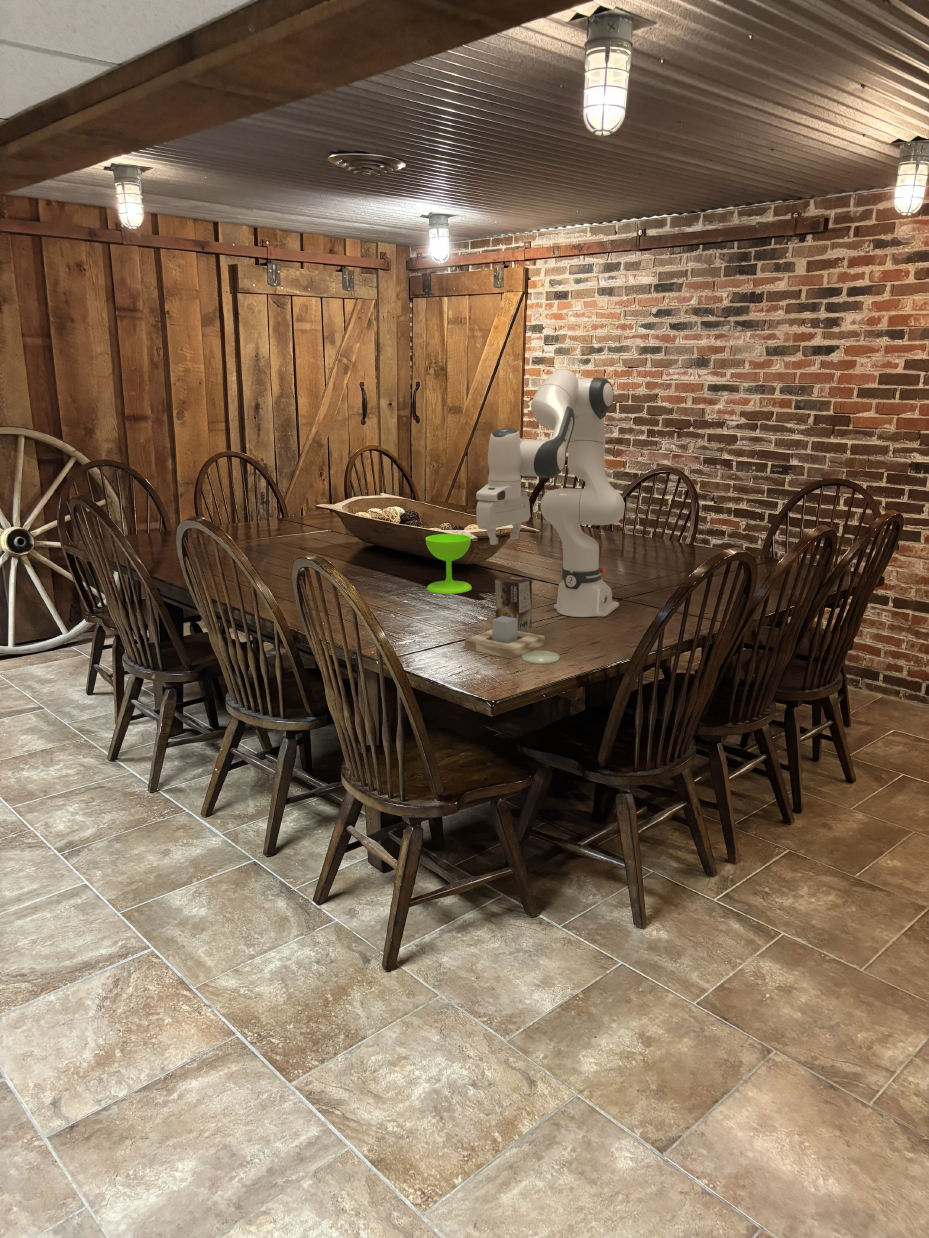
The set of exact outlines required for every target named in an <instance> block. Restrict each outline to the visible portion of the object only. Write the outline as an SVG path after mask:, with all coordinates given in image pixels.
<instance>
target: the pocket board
mask: <svg viewBox="0 0 929 1238" xmlns="http://www.w3.org/2000/svg"><path fill="white" fill-rule="evenodd" d="M544 645H545V635H542V634H541V635H540V634H536V633H526V632H521V631H517V640H516V641H514V642H512V643H509V644H506V643H501V642H497V641H492V629H489V630H487V631H484V632H481V633H479V634H476V635H473V636H471V637H469V638H467V639H464V649H466V650H470V651H474V652H479V653H482V654H487V655H492V656H495V657H496V656H497V657H501V658H505V659H506V658H507V659H511V660H512V659H515V658H517V657H520V656H522V655H523V654H524V653H526V652H530V651H534V650H535V649H537V648H539V647H542V646H544Z"/></svg>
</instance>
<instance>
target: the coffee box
mask: <svg viewBox="0 0 929 1238" xmlns="http://www.w3.org/2000/svg"><path fill="white" fill-rule="evenodd" d="M494 583H495V584H494V585H495V588H494V589H495V591H494V592H495V619H496V618H498V617H501V616H506V617H511V618H516V619H517V631H521V632H526V633H531V634H533V633H532V632H533V630H532V627H533V626H532V624H533V623H532V621H533V620H532V618H533V616H532V615H533V614H532V611H533V610H532V609H533V607H532V605H533V604H532V603H533V602H532V601H533V597H532V595H533V590H532V589H533V581H532V578H525V577H520V576H519V577H518V576H511V575H507V576H502V577H500V578H497V579H494Z"/></svg>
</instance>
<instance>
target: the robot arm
mask: <svg viewBox="0 0 929 1238" xmlns="http://www.w3.org/2000/svg"><path fill="white" fill-rule="evenodd" d="M614 392H615V391H614V388H613V385H612V384H611V382H610V381H609V380H608V379H607V378H604V377H599V376H595V377H593V378H591V377H588V378H587V377H585V378H584V377H583V378H582V377H581V378H577V375H575V373H573V372H572V371H571V370H568V369H563V368H559V369H557V370H554V371H553V372H552V373H550V375H548V377H546V379H545V380H544V381H543V382H542V383H541V384H540V386H539V388H538V389H537V390H536V392H535V393H534V395H533V398H532V400H531V404H530V410H531V414H532V416H533V419H535V421H536V422H537V423H538V424H539V426H542V427H543V428H545V429H550V430H553V433H552V436H551V438H548V439H543V440H540V439H539V440H536V439H535V440H533V439H532V440H530V439H523V438H521V435H520V431H519V430H518V429H515V428H510V427H507V428H505V427H504V428H499V429H495V430H493V431H492V432H491V433H490V436H489V440H488V441H489V442H488V451H487V465H488V469H489V470H488V471H489V473H488V478H487V484H485V485H484V486H483V487H482V488H481V489H479V490H478V491H477V492H476V494H475V497H476V500H478V502H477V504H476V509H475V510H476V519H475V520H476V521H475V522H476V526H477V528H478V529H479V530H485V531H486V533H487V536H488V538H489V545H490V546H491V545H493V546H495V545H498V544H499V537H497V535H496V532H497V528H502V527H507V526H512V531H511V532H510V533H509V534H510V535H509V536H510V537H509V538H510V540H513V541H517V540H518V539H519V533H520V530H521V529H522V523H524V522H528V521H529V520H530V518H531V507H530V506H531V504H530V500H529V499H530V498H529V496H528V492H527V490H526V489H525V488H524V487H522V477H521V476H524V477H539V478H544V479H555V478H556V477H558V476H559V475H560V474H561V473H562V472H563V470H564V468H565V465H567V469H568V471H569V473H570V474H572V475H573V476H575V477H576V478H578V479H580V480H582V481H583V482H585V487H584V488H567V487H566V488H564V487H563V488H556V489H555V488H554V489H551V490H548V491H546V492H545V493H544V495H543V497H541V498H542V499H541V501H540V512H541V515H542V516H543V518H544V519H545V521H547V522H548V523H549V524H550V525H551V526H553V528H554V529H555V530H556V532H557V533H558V535H559V538H560V540H561V545H562V560H563V561H562V563H563V564H562V565H563V566H562V568H561V572H560V573H561V574H560V575H561V580H562V581H561V582H560V583H558V590H557V598H556V599H557V600H556V603H555V604H553V608H554V609H555V610H556V612H557V613H558V614H560V615H563V616H568V617H575V618H588V617H589V618H590V617H591V618H592V617H607V616H609V615H610V614H611V613H612V612H614V610H616V609H617V608H619V607H620V602H618V601H616V600H613V590H612V588H611V587H610V586H609V585H608V584H607V583H606V582H605V581H604V580H603V579H602V574H603V575H604V574H605V573H606V567H604V566H602V567H601V566H599V564H600V562H599V561H600V560H599V559H600V547H599V543H598V541H596V539H595V538H593V537H592V536H589V535H588V534H586V533H585V532H584V531H583V529H582V528H581V525H586V526H606V525H613V524H617V523H618V522H620V520H621V519H622V518H623V515H624V513H625V507H626V506H625V501H624V497H623V496H622V495H621V494H620V492H618V491H617V490H616V489H615V488H614V487H613V486H612V485H611V483H610V482H609V480H608V477H607V475H606V470H605V448H606V427H605V425H606V424H605V417H606V415H607V413H608V412H609V411H610V410H611V407H612V406H613V403H614V398H615V396H614ZM567 452H568V453H567ZM566 457H567V463H566Z"/></svg>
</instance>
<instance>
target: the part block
mask: <svg viewBox="0 0 929 1238" xmlns="http://www.w3.org/2000/svg"><path fill="white" fill-rule="evenodd" d="M491 630H492V641H497V642H501V643H506V644H509V643H512V642H514V641H516V640H517V619H516V618H511V617H506V616H501V617H498V618H496V617H495V618H493V619H491Z"/></svg>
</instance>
